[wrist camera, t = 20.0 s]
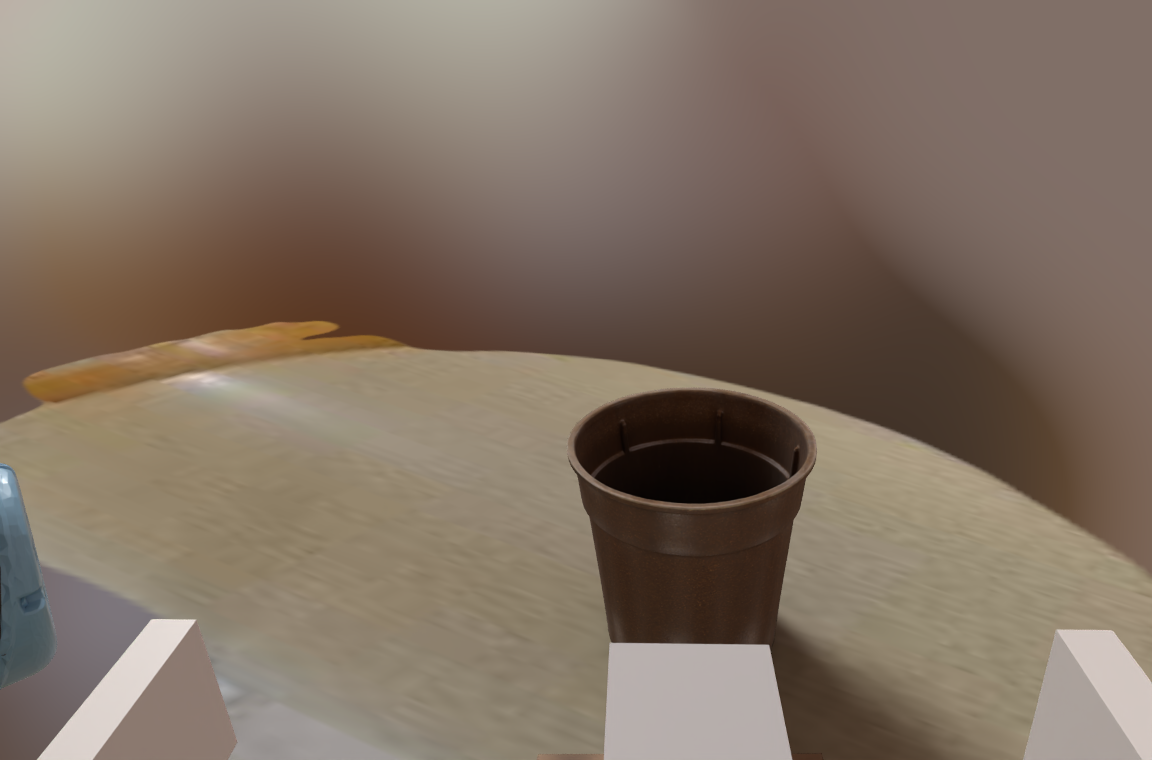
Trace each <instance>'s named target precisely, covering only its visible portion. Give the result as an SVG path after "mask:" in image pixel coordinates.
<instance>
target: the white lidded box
mask: <svg viewBox="0 0 1152 760" xmlns="http://www.w3.org/2000/svg"><path fill="white" fill-rule="evenodd" d="M604 760H792V756H791V751H790V746H789V741H788V736H787V731H786V726H785V721H784V716H783V711H782V706H781V701H780V696H779V692H778V687H777V682H776V677H775V672H774V667H773V662H772V657H771V652H770V647H769V645H745V644H660V643H610V648H609V667H608V686H607V706H606V725H605V745H604Z"/></svg>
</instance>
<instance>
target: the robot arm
mask: <svg viewBox="0 0 1152 760" xmlns="http://www.w3.org/2000/svg"><path fill="white" fill-rule="evenodd" d="M56 649H57V637H56V632H55V627H54V622H53V618H52V613H51V609H50V605H49V601H48V596H47V593H46V588H45V584H44V580H43V576H42V572H41V568H40V564H39V560H38V556H37V552H36V548H35V544H34V540H33V536H32V532H31V528H30V524H29V520H28V517H27V513H26V509H25V506H24V502H23V498H22V494H21V490H20V486H19V483H18V480H17V476H16V474H15V471H14V470H13V469H12V468H11V467H10V466H8V465H6V464H2V463H0V689H1V688H4V687H6V686H8V685H11V684H13V683H15V682H18V681H20V680H23V679H25V678H27V677H30V676H32V675H34V674H36V673H38V672H39V671H41V670H42V669H44V668H45V667H46V666H47V665H48V664H49V663H50V661H51V660H52V659H53V657H54V655H55V652H56ZM236 744H237V739H236V736H235V733H234V730H233V727H232V724H231V721H230V718H229V715H228V712H227V709H226V706H225V703H224V701H223V698H222V695H221V692H220V689H219V686H218V683H217V680H216V677H215V674H214V671H213V668H212V665H211V662H210V659H209V656H208V653H207V650H206V647H205V644H204V641H203V638H202V635H201V632H200V629H199V626H198V623H197V620H167V619H152V620H151V621H150V622H149V623H148V625H147V626H146V627H145V628H144V629H143V631H142V632H141V633H140V634H139V636H138V637H137V638H136V639H135V640H134V642H133V643H132V644H131V645H130V647H129V648H128V649H127V650H126V651H125V653H124V654H123V655H122V656H121V658H120V659H119V660H118V661H117V663H116V664H115V665H114V666H113V667H112V669H111V670H110V671H109V672H108V674H107V675H106V676H105V677H104V678H103V680H102V681H101V682H100V683H99V684H98V686H97V687H96V688H95V689H94V691H93V692H92V693H91V694H90V696H89V697H88V698H87V699H86V700H85V702H84V703H83V704H82V705H81V707H80V708H79V709H78V710H77V711H76V713H75V714H74V715H73V716H72V718H71V719H70V720H69V721H68V722H67V724H66V725H65V726H64V727H63V729H62V730H61V731H60V732H59V733H58V735H57V736H56V737H55V739H54V740H53V741H52V742H51V743H50V745H49V746H48V747H47V748H46V749H45V751H44V752H43V753H42V754H41V755H40V757H39V758H38V759H37V760H228V758H229V756H230V754H231V753H232V751H233V749H234V747H235V745H236ZM1023 760H1152V682H1151V681H1150V680H1149V678H1148V677H1147V676H1146V674H1145V673H1144V672H1143V670H1142V669H1141V668H1140V666H1139V665H1138V664H1137V662H1136V661H1135V660H1134V658H1133V657H1132V656H1131V654H1130V653H1129V652H1128V650H1127V649H1126V648H1125V646H1124V645H1123V644H1122V642H1121V641H1120V640H1119V638H1118V637H1117V636H1116V634H1115V633H1114V632H1113V630H1056V632H1055V636H1054V640H1053V644H1052V648H1051V652H1050V656H1049V660H1048V664H1047V668H1046V672H1045V676H1044V680H1043V684H1042V688H1041V692H1040V696H1039V700H1038V704H1037V708H1036V712H1035V716H1034V720H1033V724H1032V727H1031V731H1030V735H1029V739H1028V743H1027V747H1026V751H1025V755H1024V759H1023Z"/></svg>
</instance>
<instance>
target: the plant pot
mask: <svg viewBox="0 0 1152 760" xmlns="http://www.w3.org/2000/svg"><path fill="white" fill-rule="evenodd" d="M567 454H568V459H569V462H570V465H571V467H572V468H573V470H574V471H575V473H576V474H577V476H578V481H579V486H580V492H581V498H582V502H583V505H584V508H585V510H586V512H587V514H588V515H589V517H590V522H591V528H592V533H593V539H594V544H595V550H596V556H597V561H598V567H599V573H600V579H601V585H602V591H603V597H604V603H605V609H606V616H607V622H608V631H609V636H610V639H611V642H612V643H660V644H745V645H769V647H770V650H771V648H772V645H773V641H774V636H775V628H776V621H777V615H778V609H779V602H780V595H781V590H782V584H783V577H784V571H785V566H786V561H787V555H788V549H789V543H790V537H791V532H792V526H793V520H794V518H795V517H796V515H797V513H798V511H799V509H800V506H801V501H802V496H803V491H804V486H805V481H806V477H807V476H808V475H809V474H810V472H811V471H812V469H813V467H814V464H815V461H816V455H817V447H816V440H815V438H814V435H813V433H812V431H811V430H810V428H809V427H808V426H807V424H806V423H805V422H803V421H802V420H801V419H800V418H799V417H798V416H796V415H795V414H794V413H792V412H790V411H789V410H787V409H785V408H784V407H781V406H779V405H777V404H775V403H773V402H770V401H768V400H765V399H762V398H759V397H756V396H752V395H748V394H744V393H740V392H735V391H729V390H722V389H714V388H670V389H660V390H654V391H647V392H642V393H637V394H633V395H628V396H625V397H622V398H619V399H616V400H613V401H611V402H608V403H606V404H604V405H602V406H600V407H598V408H596V409H595V410H593V411H591V412H590V413H588V414H587V415H586V416H584V417H583V418H582V419H581V420H580V421H579V422H578V423H577V424H576V425H575V426H574V428H573V429H572V431H571V432H570V434H569V437H568V441H567Z"/></svg>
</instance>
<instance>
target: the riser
mask: <svg viewBox="0 0 1152 760" xmlns="http://www.w3.org/2000/svg"><path fill="white" fill-rule="evenodd" d="M791 756H792V760H823V757H822V753H819V754H791ZM537 760H604V754H538V757H537Z"/></svg>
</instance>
